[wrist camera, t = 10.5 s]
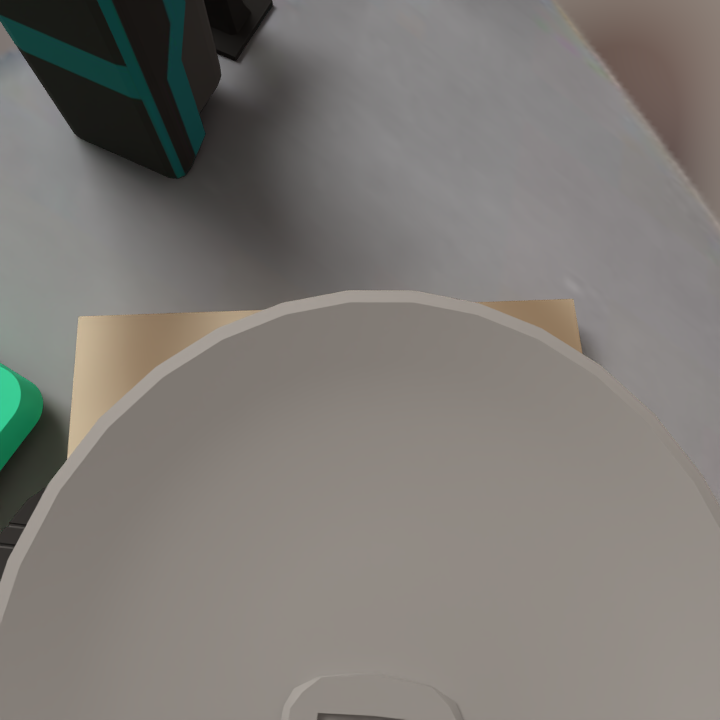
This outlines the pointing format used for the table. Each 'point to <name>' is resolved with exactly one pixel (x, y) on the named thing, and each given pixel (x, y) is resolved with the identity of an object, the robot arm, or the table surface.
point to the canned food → (369, 534)
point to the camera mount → (16, 411)
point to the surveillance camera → (133, 67)
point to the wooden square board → (179, 330)
